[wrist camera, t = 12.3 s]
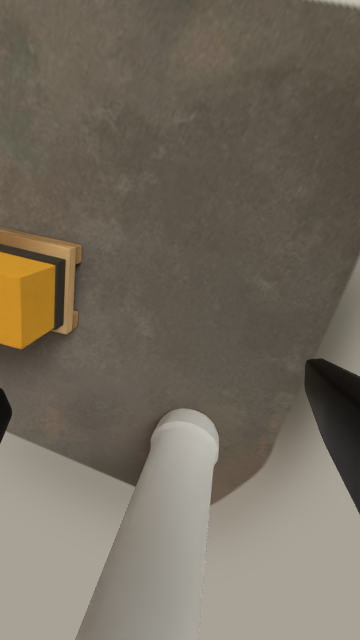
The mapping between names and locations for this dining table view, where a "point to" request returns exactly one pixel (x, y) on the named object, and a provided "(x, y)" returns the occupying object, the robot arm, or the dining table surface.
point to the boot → (29, 295)
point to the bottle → (160, 540)
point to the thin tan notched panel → (54, 249)
